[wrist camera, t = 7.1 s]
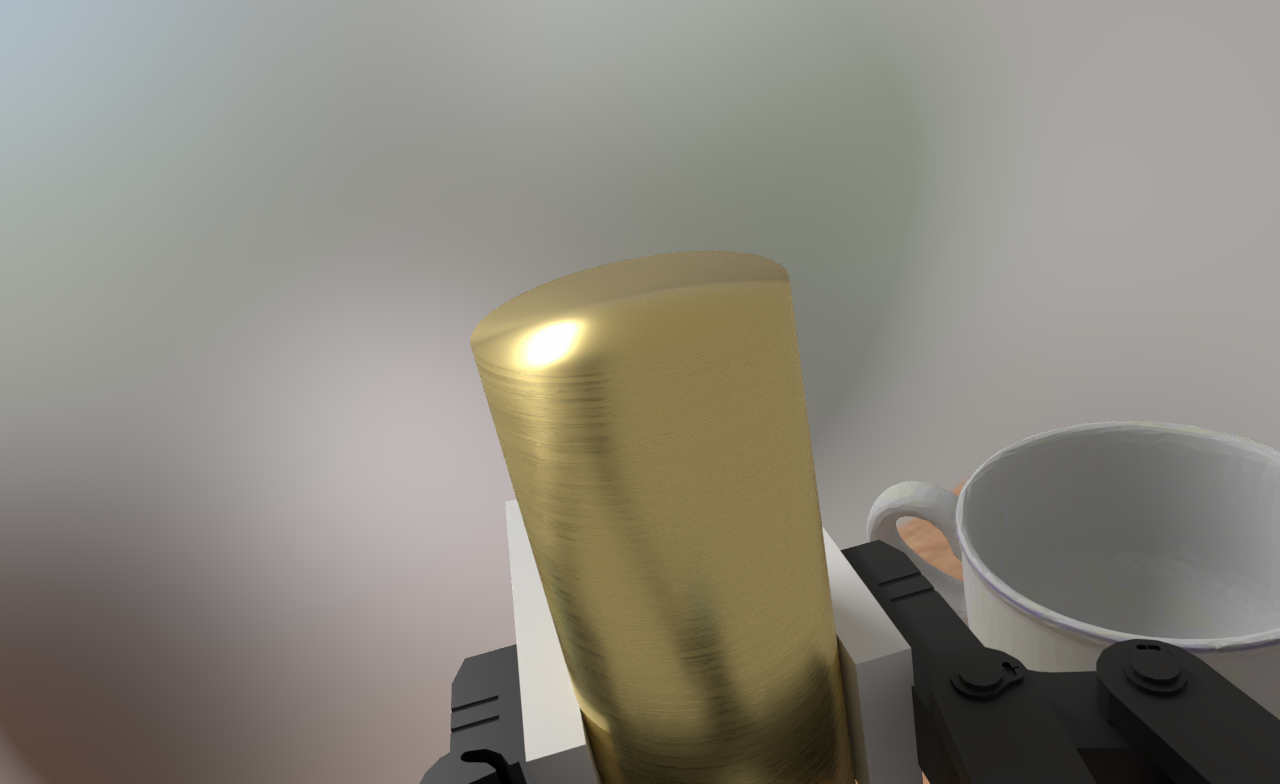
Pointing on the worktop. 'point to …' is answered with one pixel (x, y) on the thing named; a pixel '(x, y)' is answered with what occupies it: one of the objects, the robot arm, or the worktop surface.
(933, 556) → the worktop surface
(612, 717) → the cylinder
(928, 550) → the worktop surface
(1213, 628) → the teacup
